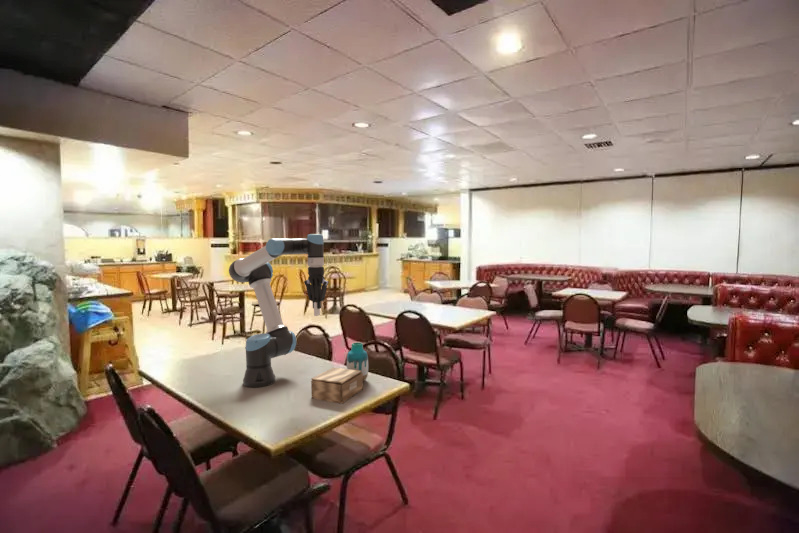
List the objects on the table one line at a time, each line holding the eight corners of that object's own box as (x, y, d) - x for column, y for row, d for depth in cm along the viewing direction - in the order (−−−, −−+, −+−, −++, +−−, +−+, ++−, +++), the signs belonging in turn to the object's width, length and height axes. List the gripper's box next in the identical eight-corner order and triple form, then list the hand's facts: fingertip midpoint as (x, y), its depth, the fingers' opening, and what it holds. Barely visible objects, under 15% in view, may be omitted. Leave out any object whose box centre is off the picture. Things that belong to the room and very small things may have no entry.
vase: (365, 385, 195) (364, 346, 193) (344, 384, 197) (343, 345, 196) (371, 378, 205) (370, 341, 204) (351, 377, 207) (350, 340, 206)
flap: (311, 379, 180) (311, 378, 180) (332, 368, 195) (332, 367, 195) (342, 383, 173) (341, 382, 173) (361, 371, 188) (361, 370, 188)
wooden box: (311, 398, 180) (311, 380, 179) (334, 385, 196) (333, 368, 195) (342, 403, 173) (342, 385, 172) (363, 389, 189) (363, 373, 189)
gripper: (299, 266, 192) (301, 315, 193) (322, 267, 187) (323, 317, 188) (309, 265, 199) (310, 313, 200) (331, 266, 193) (332, 314, 195)
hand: (317, 315), depth 194 cm, fingers closed
